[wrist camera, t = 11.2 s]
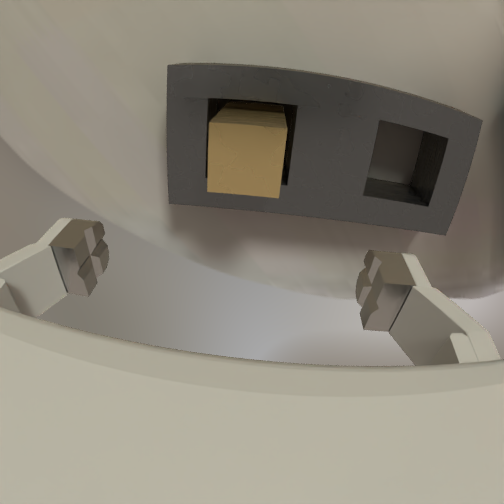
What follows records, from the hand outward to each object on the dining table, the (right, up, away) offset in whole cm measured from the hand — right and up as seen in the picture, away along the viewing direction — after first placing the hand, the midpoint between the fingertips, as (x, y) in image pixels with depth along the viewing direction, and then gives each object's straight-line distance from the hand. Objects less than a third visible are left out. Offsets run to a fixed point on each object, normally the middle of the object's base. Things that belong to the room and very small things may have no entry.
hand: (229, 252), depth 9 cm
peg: (+1, +9, +14) cm, 17 cm away
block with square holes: (+6, +9, +14) cm, 17 cm away
